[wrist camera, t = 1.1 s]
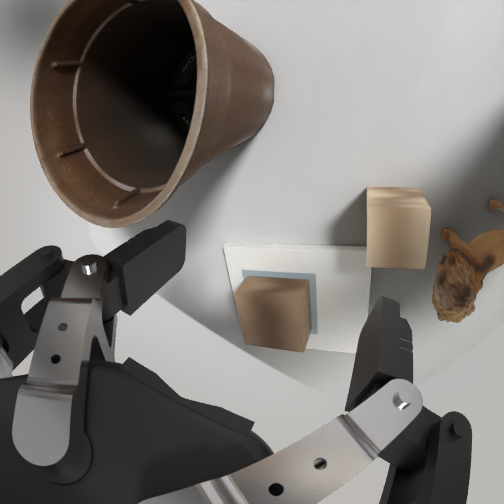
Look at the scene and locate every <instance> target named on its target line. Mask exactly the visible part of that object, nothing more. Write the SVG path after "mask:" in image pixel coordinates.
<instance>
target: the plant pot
mask: <svg viewBox="0 0 504 504" xmlns="http://www.w3.org/2000/svg"><path fill="white" fill-rule="evenodd" d="M192 55H195V58H194V60H193V61H192V62H191V63H190V64H188V66H187V68H186V70H185V72H184V73H181V72H180V71H181V69H182V67H183V65H184V64H185V63H186V62H187V60H188V59H189V58H190V57H191V56H192ZM273 103H274V75H273V72H272V69H271V67H270V65H269V63H268V61H267V60H266V58H265V57H264V55H263V54H262V53H261V52H260V51H259V50H258V49H257V48H256V47H255V46H254V45H252V44H251V43H249V42H248V41H246V40H245V39H243V38H242V37H240V36H239V35H237V34H236V33H235V32H233V31H231V30H230V29H229V28H227V27H226V26H224V25H223V24H221V23H220V22H218V21H217V20H215V19H214V18H213V17H212V16H211V15H210V14H209V13H208V11H207V10H206V9H205V8H203V7H202V6H201V5H200V4H198V3H197V2H195V1H194V0H69V1H68V2H67V4H66V5H65V6H64V7H63V9H62V10H61V11H60V12H59V14H58V15H57V17H56V18H55V20H54V21H53V23H52V25H51V27H50V29H49V31H48V33H47V35H46V37H45V40H44V42H43V44H42V46H41V49H40V51H39V54H38V57H37V60H36V64H35V68H34V73H33V78H32V85H31V96H30V113H31V114H30V116H31V128H32V134H33V140H34V144H35V148H36V152H37V155H38V158H39V161H40V163H41V167H42V169H43V171H44V174H45V176H46V177H47V179H48V181H49V183H50V185H51V186H52V188H53V189H54V191H55V192H56V193H57V195H58V196H59V198H60V199H61V200H62V201H63V202H64V203H65V204H66V205H67V206H68V207H69V208H70V209H71V210H72V211H74V212H75V213H76V214H77V215H78V216H80V217H82V218H83V219H85V220H87V221H89V222H90V223H93V224H96V225H99V226H102V227H109V228H120V227H126V226H130V225H133V224H136V223H138V222H140V221H142V220H144V219H146V218H147V217H149V216H150V215H151V214H153V213H154V212H155V211H157V210H158V209H159V208H160V207H161V206H163V205H164V204H165V203H166V202H167V200H168V199H169V198H170V197H171V196H172V194H173V193H174V192H175V191H176V189H177V188H178V186H179V185H181V184H182V183H184V182H185V181H186V180H187V179H189V178H190V177H191V176H192V175H193V174H194V173H195V172H196V171H197V170H198V169H199V168H200V167H201V166H202V165H204V164H205V163H207V162H209V161H210V160H212V159H214V158H215V157H217V156H219V155H220V154H222V153H224V152H226V151H227V150H229V149H231V148H233V147H235V146H237V145H239V144H241V143H243V142H245V141H247V140H248V139H249V138H251V137H252V136H253V135H254V134H255V133H256V132H257V131H258V130H259V129H260V128H261V127H262V126H263V124H264V123H265V121H266V120H267V118H268V116H269V114H270V112H271V109H272V106H273ZM181 115H184V116H185V117H186V119H187V120H188V121H189V122H190V123H191V125H190V128H189V127H188V126H187V125H186V124H185V123H184V122H183V120H182V119H181Z"/></svg>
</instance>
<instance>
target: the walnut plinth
mask: <svg viewBox="0 0 504 504" xmlns="http://www.w3.org/2000/svg"><path fill="white" fill-rule="evenodd" d="M234 298H235V302H236V307H237V311H238V316H239V320H240V324H241V329H242V333H243V337H244V341H245V344H249V345H255V346H261V347H268V348H274V349H281V350H289V351H296V352H304V351H305V348H306V345H307V342H308V339H309V336H310V333H311V330H312V325H311V302H310V284H309V279H292V278H276V277H261V276H248V277H247V278H246V279H245V281H244V282H243V283H242V285H241V286H240V287H239V289H238V290H237V291H236V293H235V294H234Z"/></svg>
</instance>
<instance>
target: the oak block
mask: <svg viewBox="0 0 504 504" xmlns="http://www.w3.org/2000/svg"><path fill="white" fill-rule="evenodd" d="M430 221H431V208H430V206H429V204H428V203H427V201H426V199H425V198H424V196H423V195H422V193H421V192H420V190H419V189H418V188H394V187H367V258H366V267H377V268H404V269H425V266H426V259H427V251H428V242H429V233H430Z"/></svg>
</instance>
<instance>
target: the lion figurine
mask: <svg viewBox="0 0 504 504" xmlns="http://www.w3.org/2000/svg"><path fill="white" fill-rule="evenodd" d="M488 206H489V209H490V210H491V211H497V210H501V211H503V212H504V204H503V203H501V202H499V201H498V200H495V199H491V200H490V201H489V203H488ZM442 238H443V240H444V241H449V244H450V248H451V250H449V251H448V252H446V253H444V255H443V258H442V261H441V262H439V263H438V268H437V273H436V279H435V282H434V286H433V292H434V293H433V295H432V303H433V304H434V308H435V310H436V311H437V315H438V319H439V320H440V321H442V320H446V321H447V322H449V321H452V322H457V323H458V322H460V321H461V320H462V319H464V318H465V317H466V316H469V315H470V314H471V313H472V312H473V311H474V310H475V306H474V302H475V299H476V294H477V293H478V291H479V290H480V289H481V288H482V286H483V279H484V278H485V276H486V275H487V273H489V272H490V271H492V270H494V269H495V268H497V267H499V266H501V265H502V264H504V229H502V230H500V229H499V230H490V231H487V232H484V233H482V234H480V235H478V236H477V237H476V238H474V239H473V240H472V241H471V242H469V243H468V242H466V241H463V240H461V239H460V238H459V237H458V236H457V234H456V233H455V232H453V231H452V230H450V229H444V230H443V231H442Z"/></svg>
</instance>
